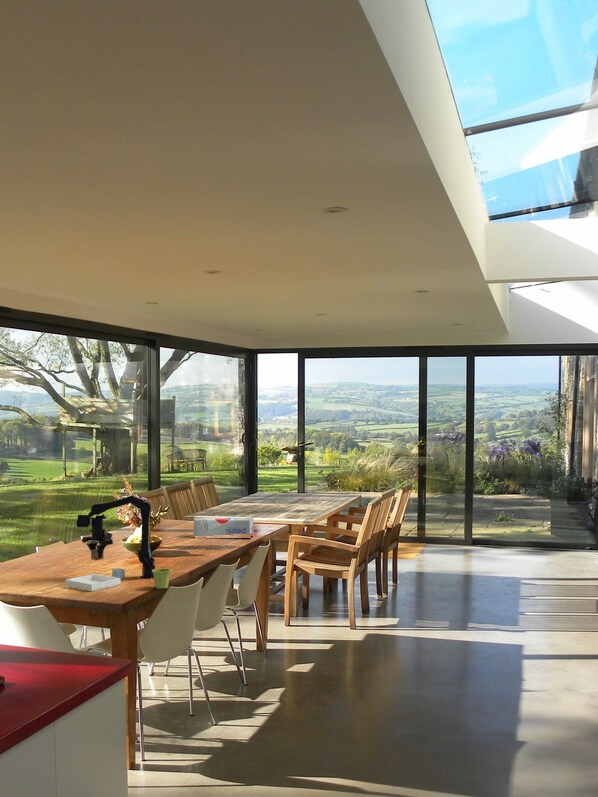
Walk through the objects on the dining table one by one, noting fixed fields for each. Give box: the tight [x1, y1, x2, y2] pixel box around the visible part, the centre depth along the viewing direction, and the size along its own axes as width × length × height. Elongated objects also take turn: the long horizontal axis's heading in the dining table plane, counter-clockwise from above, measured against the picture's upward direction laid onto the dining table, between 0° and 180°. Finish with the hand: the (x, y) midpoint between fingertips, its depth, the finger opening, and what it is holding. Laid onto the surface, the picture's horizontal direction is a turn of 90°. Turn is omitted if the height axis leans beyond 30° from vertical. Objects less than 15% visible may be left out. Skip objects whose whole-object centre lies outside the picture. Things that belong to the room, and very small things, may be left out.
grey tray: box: [64, 573, 121, 592], centre depth 389 cm, size 20×18×4 cm
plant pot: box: [152, 568, 172, 590], centre depth 385 cm, size 9×9×9 cm
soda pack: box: [193, 517, 254, 537], centre depth 546 cm, size 41×13×14 cm, turn 82°
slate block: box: [111, 567, 126, 581], centre depth 406 cm, size 4×4×5 cm
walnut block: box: [90, 548, 104, 561], centre depth 408 cm, size 4×4×5 cm
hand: (97, 557), depth 408 cm, fingers closed on walnut block, 4 cm apart
